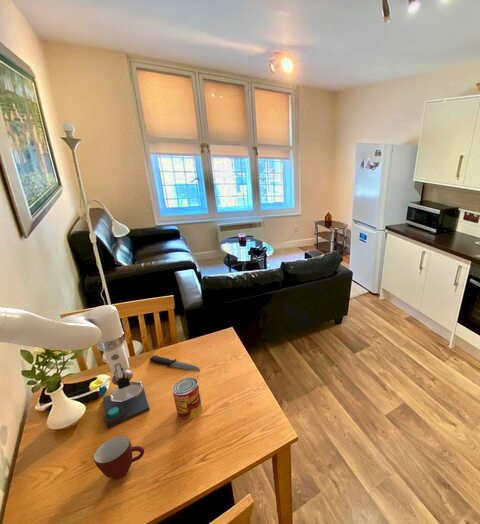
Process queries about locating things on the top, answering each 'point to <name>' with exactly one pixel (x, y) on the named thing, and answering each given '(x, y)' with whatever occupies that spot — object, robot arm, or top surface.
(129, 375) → the egg
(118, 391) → the shallow metal dish
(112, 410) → the tare button
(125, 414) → the scale
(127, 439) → the mug
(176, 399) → the canned food
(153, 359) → the knife
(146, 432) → the top surface
